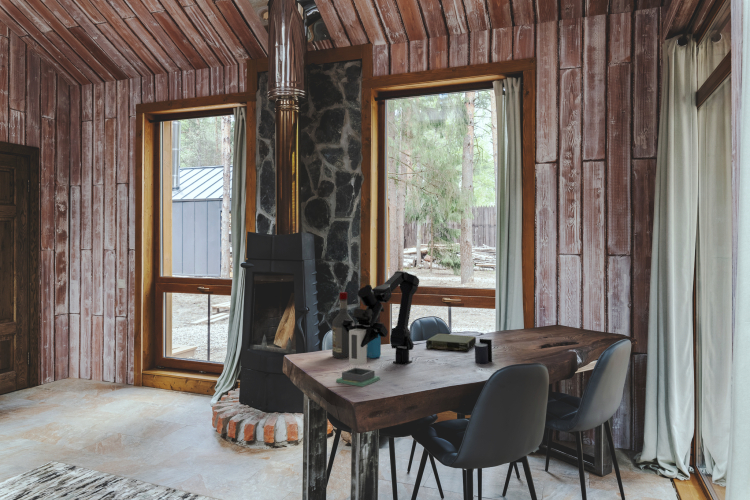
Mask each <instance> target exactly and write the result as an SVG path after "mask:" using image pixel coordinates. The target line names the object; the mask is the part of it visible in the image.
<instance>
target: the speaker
mask: <svg viewBox="0 0 750 500" xmlns="http://www.w3.org/2000/svg"><path fill="white" fill-rule="evenodd" d="M492 341H493V340H492V339H491V338H479V341H478V342H476V343H475V344H474V362H475V363H476V364H480V365H486V364H488V363H490V362H491V363H492V362H493V345H492Z"/></svg>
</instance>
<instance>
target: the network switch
mask: <svg viewBox="0 0 750 500" xmlns="http://www.w3.org/2000/svg"><path fill="white" fill-rule="evenodd" d="M475 343H477V338H476V336H473V335H460V334H448V333H436V334H435V335H433V336H431V337H430V338H428V339H427V340H426V341H425V345H426V346H425V347H426V349H427V350H429V349H434V350H436V349H437V350H444V351H446V350H448V351H451V350H452V351H460V352H463V351H464V352H465V353H467V352H468V351H469V350H470V349H471V348H473V347H475V345H474V344H475Z"/></svg>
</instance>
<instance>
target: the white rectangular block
mask: <svg viewBox="0 0 750 500" xmlns="http://www.w3.org/2000/svg"><path fill="white" fill-rule="evenodd" d="M365 334H366V330H365V329H352V330H349V358H348V365H351V366H358V367H361V366H363V365H366V364H367V361H368V360H367V358H368V357H367V344H366V345H365V346H364V347H361V343H362V341H363V339H364V336H365Z"/></svg>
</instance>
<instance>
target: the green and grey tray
mask: <svg viewBox="0 0 750 500" xmlns="http://www.w3.org/2000/svg"><path fill="white" fill-rule="evenodd" d="M375 372H376V371H375V370H373V369H366V368H360V367H353V368H350V369H348V370H345V371H343V372H341V377H339V378H336V383H341V384H345V385H351V386H356V387H357V386H358V387H365V386H368V385H370V384H372V383H375V382H377V381H379V380H381V376H378V375H376V373H375Z"/></svg>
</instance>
